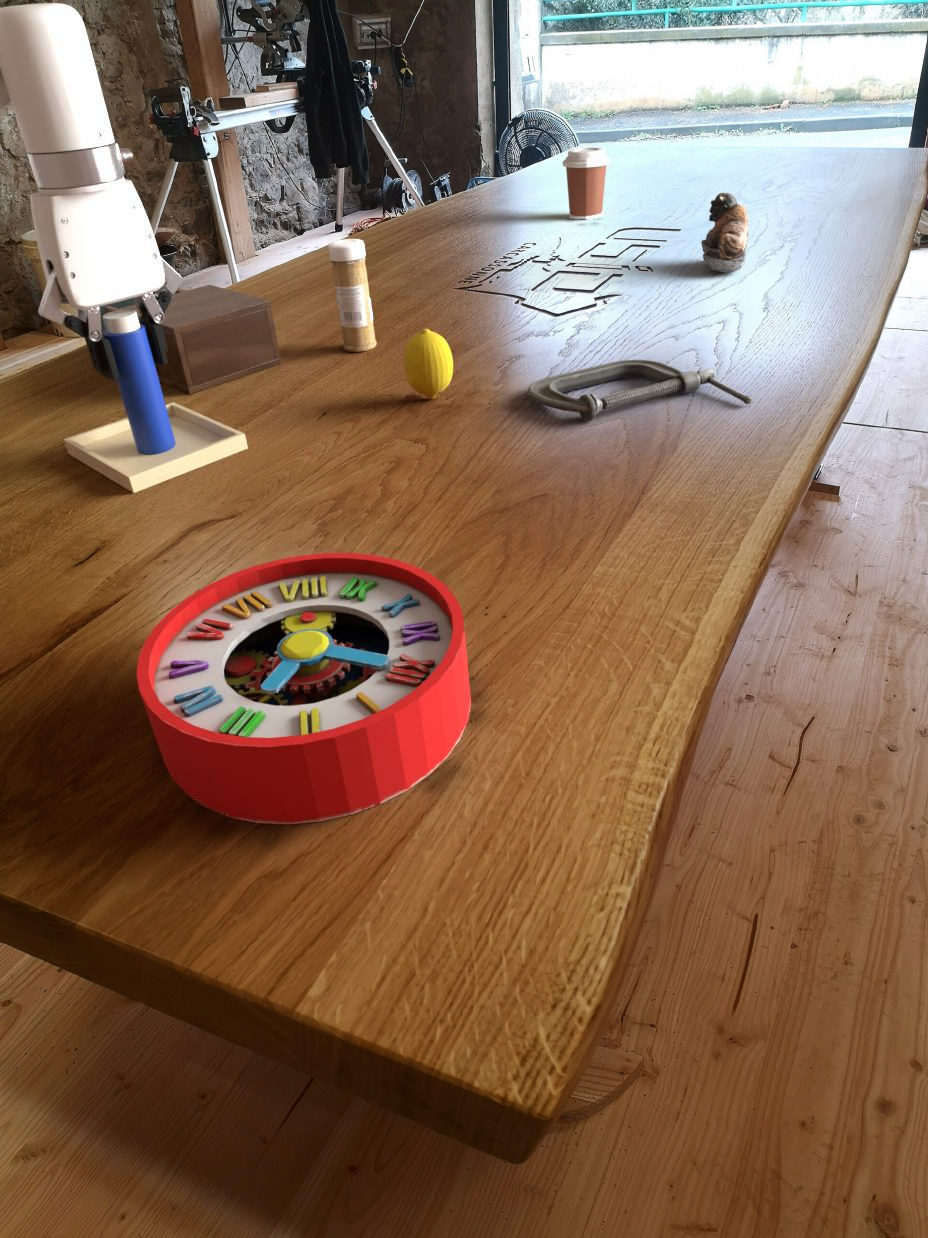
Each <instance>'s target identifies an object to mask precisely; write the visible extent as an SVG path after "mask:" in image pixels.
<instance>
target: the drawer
mask: <svg viewBox="0 0 928 1238" xmlns="http://www.w3.org/2000/svg"><path fill="white" fill-rule="evenodd" d="M183 291H187V290H186V289H182V288H180V287H179V288H178V290H177V291H176V293H180V292H183ZM176 293H175V294H176ZM134 304H135V303H134V301H133V300H132V298H131V299H127V300H123V301H120V302H116V303H112V304H108V305H104V306H100V314H101V331H102V334H103V331H105V330H106V328H105V324H104V321H103V315H104V314H106V313H109V312H112V311H116V310H117V309H119V308H123V307H127V306H131V305H134ZM103 337H104V336H103Z"/></svg>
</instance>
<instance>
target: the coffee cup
mask: <svg viewBox="0 0 928 1238" xmlns="http://www.w3.org/2000/svg"><path fill="white" fill-rule="evenodd" d="M610 163H611V158H610V157H609V156H608V155H607V154H606V149H605V148H603V147H599V146H598V147H596V146H589V147H578V148H573V149H569V150H568V151H567V156H566V157H565V159H564V160H562V166H563V167H565V170H566V171H565V172H566V184H567V185H566V186H567V195H568V196H567V198H568V211H569V218H570V217H571V218H570V219H572V218H574V219H572V220H578V221H580V220H579V219H586V220H585V221H588V220H594V219H593V218H595V219H599V218H601V217H602V216H603V208H604V207H603V206H604V195H605V184H606V174H607V173H606V172H607V165H609V164H610ZM600 216H601V217H600ZM598 217H599V218H598Z"/></svg>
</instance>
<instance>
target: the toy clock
mask: <svg viewBox="0 0 928 1238" xmlns="http://www.w3.org/2000/svg"><path fill="white" fill-rule="evenodd" d="M467 653H468V652H467V641H466V631H465V620H464V612H463V611H462V608H461V606H460V603H459V601H458V599H457V597H456V596H455V595H454V594H453V592H452V591H451V590H450V589H449V587H448V586H447V585H446V584H444V583H443V582H442V581H440V580H439V579H438V578H437V577H436V576H435V575H433V574H432V573H430V572H427V571H426V570H423V569H422V568H420V567H417V566H416V565H413V564H410V563H407V562H405V561H401V560H399V559H395V558H389V557H385V556H380V555H375V554H366V553H356V552H325V553H324V552H323V553H311V554H301V555H296V556H290V557H286V558H285V557H284V558H279V559H275V560H271V561H267V562H263V563H260V564H256V565H253V566H250V567H247V568H245V569H241V570H239V571H236V572H233V573H230V574H229V575H226V576H224V577H222V578H219V579H218V580H216V581H213V582H211V583H209V584H208V585H205V586H204V587H202V588H201V589H199V590H198V591H196V592H194V593H192V594H191V595H189V596H187V597H186V598H185V599H183V601H180V603H178V604H177V605H176V606H174V607H173V608H172V609H171V610H170V611H169V612H168V613H167V614H166V615H165V616H164V617H163V618H162V619H161V620H160V621H158V623H157V624H156V625H155V626H154V627H153V629H152V630H151V632H150V634H149V635H148V637H147V638H146V640H145V641H144V643H143V646H142V648H141V650H140V653H139V655H138V659H137V665H136V673H135V674H136V679H137V686H138V691H139V694H140V697H141V699H142V702H143V705H144V708H145V711H146V714H147V717H148V720H149V722H150V723H149V724H151V725H150V726H151V729H152V732H153V734H154V737H155V739H156V743H157V745H158V749H159V751H160V755H161V758H162V759H163V763H164V766H165V768H166V767H167V768H166V770H167V769H168V770H167V771H168V773H169V772H170V773H169V775H170V774H171V775H170V777H171V776H172V777H171V779H172V780H173V781H174V780H175V782H176V783H177V784H178V785H179V786H180V787H181V788H182V789H183V790H184V791H185V792H186V793H187V794H188V795H189V796H191V797H193V799H192V800H193V801H195V800H194V799H196V800H197V801H198V802H197V801H195V802H197V804H200V803H202V804H203V805H204V806H203V805H202V804H200V805H201V806H203V807H204V808H206V809H208V808H210V809H209V810H210V811H213V812H216V811H219V812H220V813H219V812H216V813H217V814H221V815H224V814H225V815H224V816H226V817H229V818H232V819H236V820H241V821H247V822H253V823H256V824H272V825H273V824H274V825H296V824H306V823H308V824H309V823H317V822H318V823H319V822H324V821H329V820H334V819H337V818H342V817H346V816H351V815H354V814H356V813H360V812H363V811H365V810H368V809H371V808H373V807H376V806H379V805H382V804H383V803H386V802H387V801H389V800H391V799H393V798H395V797H397V796H399V795H401V794H403V793H405V792H407V791H408V790H410V789H411V788H412V787H414V786H415V785H417V784H418V783H420V782H421V781H422V780H424V779H425V778H427V777H428V776H430V774H432V773H433V772H434V771H435V770H436V769H437V768H438V767H439V766H440V765H441V764H442V763H443V762H444V761H445V760H446V759H448V757H449V756H450V754H451V752H452V751H453V750H454V748H455V747H456V745H457V744H458V743H459V741H460V740H461V738H462V736H463V733H464V731H465V728H466V726H467V724H468V722H469V719H470V718H469V716H470V712H471V705H472V698H471V687H470V677H469V664H468V663H469V662H468V654H467ZM175 782H174V783H175ZM176 783H175V784H176ZM177 784H176V785H177ZM178 785H177V786H178ZM179 786H178V787H179ZM180 787H179V788H180ZM181 788H180V789H181ZM182 789H181V790H182ZM183 790H182V791H183ZM184 791H183V792H184ZM185 792H184V793H185ZM186 793H185V794H186ZM187 794H186V795H187ZM188 795H187V796H188ZM189 796H188V797H189ZM199 802H200V803H199ZM205 806H206V807H205ZM207 807H208V808H207ZM211 809H212V810H211ZM214 810H215V811H214Z"/></svg>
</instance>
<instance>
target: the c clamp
mask: <svg viewBox="0 0 928 1238" xmlns="http://www.w3.org/2000/svg"><path fill="white" fill-rule="evenodd" d="M715 376H716V374H715V372H714V370H713V369H712V368H708V369H704V370H701V369H699V370H697V371H696V370H695V371H694V370H689V371H684V372H683V371H681V370H679V369H678V368H676V367H674V366H671V365H668V364H665V363H663V362H659V361H655V360H650V359H649V360H647V359H625V360H624V359H623V360H617V361H612V362H608V363H603V364H599V365H594V366H591V367H585V368H583V369H578V370H574V371H569V372H565V373H561V374H556V375H551V376H548V377H544V378H541V379H539V380H536V381H534V382H533V383H531V384H530V385H529V386H528V389H527V394H528V396H529V398H530V399H531V400H533V401H534V402H537V403H538V404H541V405H543V406H545V407H549V408H552V409H555V410H559V411H565V412H566V411H567V412H571V413H579V415H580V416H581V418H582V419H583V420H584V421H587V422H590V421H593V420H595V418H596V416H597V415H598V414H599V413H601V412H602V410H603V411H608V410H610V409H611V410H612V409H615V408H620V407H623V406H627V405H630V404H631V405H632V404H635V403H638V402H642V401H645V400H649V399H653V398H656V397H660V396H664V395H668V394H672V393H676V392H677V393H678V394H686V393H687V394H688V393H690V392H695V391H697V390H698V388H699V387H700V386H702V385H707V384H710V385H712V386H713V387H715V388H717V389H719V390H721V391H722V392H724V393H727V394H728V395H730V396H732V397H734V398H736V399H738V400H740V401H742V402H743V403H744V404H745V405H750V404H751V403H752V402H753V397H752V396H750V395H746V394H745V393H742V392H741V391H738V390H737V389H735V388H733V387H731V386H729V385H727V384H725V383H723V382H722V381H719V380H718V379H715V378H716V377H715ZM627 378H637V379H644V380H648V381H650V382H651V381H652V382H654V383H653V384H649V385H645V386H641V387H638V388H634V389H631V390H626V391H623V392H618V393H615V394H611V395H607V396H604V397H601V398H600V399H598V398H597V396H596V395H595V394H593V393H590V394H588V393H584V394H582V395H581V396H579V397H578V398H575V397H573V396H570V395H566V394H564V393H567V392H570V391H575V390H579V389H584V388H589V387H592V386H596V385H600V384H603V383H607V382H612V381H615V380H619V379H627Z"/></svg>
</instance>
